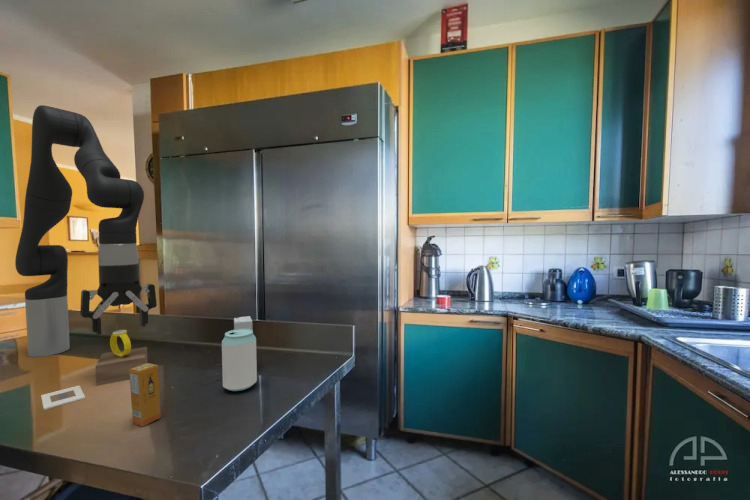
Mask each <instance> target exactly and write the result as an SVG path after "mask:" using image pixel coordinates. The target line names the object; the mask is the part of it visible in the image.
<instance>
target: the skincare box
mask: <svg viewBox="0 0 750 500" xmlns="http://www.w3.org/2000/svg"><path fill="white" fill-rule="evenodd" d="M236 329H250V330H252V331H253V332H254V329H253V320H252V318H251V316H250V315H249V316H239V317H234V318H233V330H236Z"/></svg>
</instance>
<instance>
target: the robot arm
mask: <svg viewBox="0 0 750 500" xmlns="http://www.w3.org/2000/svg"><path fill="white" fill-rule="evenodd" d="M33 112H34V113H33V115H32V125H31V152H30V153H31V155H30V156H31V157H30V165H29V166H30V167H29V172H28V173H29V174H28V179H27V184H26V189H25V197H24V208H23V209H24V210H23V220H22V227H21V232H20V237H19V241H18V246H17V248H16V254H15V259H14V260H15V263H14V265H15V270H16V272H17V273H18V274H19V275H20V276H22V277H38V276H39V277H40V276H49V275H50V276H49V278H48V279H47V280H45V281H44V282H42V283H39V284H38V285H35V286H33V287H29V288H28V289H26V290H25V292H24V303H25V323H26V324H25V326H26V341H27V342H26V343H27V345H26V346H27V356H28V357H30V358H40V357H42V358H43V357H47V356H48V357H49V356H53V355H57V354H60V353H64V352H66V351H69V350H70V348H71V347H70V346H71V345H70V328H69V327H70V326H69V325H70V324H69V304H68V301H69V300H68V269H69V266H68V264H69V261H68V259H69V258H68V257H69V256H68V251H67V250H66V247H64V246H63V245H60V244H40V242H41V241H42V238H43V237H44V236H45V235H46V234H47V233H48V232H49V231H50V230H52V229H53V228H54V227H55V226H57V225H58V224H59V223H61V221H62V220H63V219H65V217H67V215H68V214H69V212H70V210H71V204H72V199H73V188H72V186H71V185H70V183H69V181H68V180H67V178H66V177H65V175H64V174H63V173H62V171H61V170H60V169H59V168H60V167H58V165H57V163H56V162H55V160H54V157H53V152H52V151H53V150H52V148H53V145H59V146H66V147H72V148H78V149H77V151H76V152H75V154H74V155H73V156H74V157H73V158H74V159H73V160H74V166H75V167H76V169H77V170H78V172H79V173H80V175H81V176H82V177H83V179H84V180H85V186H86V196H87V199H88V200H89V202H90V203H92V204H93V205H95V206H97V207H100V208H109V209H121V212H120V214H119V215H118V216H116V217H109V218H102V219H101V220H100V221H99V222H98V245H99V246H98V251H97V259H98V260H97V261H98V262H97V263H98V284H99V286H98V288H97V289H93V290H90V289H82V290H81V292H80V309H79V310H80V313H79V314H80V316H81V317H82V318H83V319H84V318H85V319H86V318H89V319H91V330H92V332H93V333H94V334H96V336H97V335H98V336H99V335H102V319H101V315H102V314H103V313H104V312H105V311H106V310H107V309H108V308H109V307H111V306H112V307H118V306H121V305H124V306H126V305H130V304H132V303H133V304H134V305H135V307H137V308H139V309H140V310H139V314H138V315H139V326H140V327H143V328H144V327H146V325H147V324H148V323H149V311H150V310H152V309H153V308H154V309H155V308H156V307H157V306H158V305H157V297H156V296H157V295H156V293H157V292H156V286H155V285H154V284H152V283H147V284H144V285H141V284H140V271H139V270H140V269H139V268H140V267H139V265H140V264H139V262H140V258H139V251H138V245H137V240H138V239H137V226H138V225H137V224H138V220H139V217H140V213H141V209H142V207H143V204H144V199H145V193H144V192H145V191H144V188H143V187H142V186H141V184H140V183H139V182H138V181H136V180H131V179H125V178H121V173H120V170H119V168H117V166H116V165H115V164H114V163H113V161H112V160H111V158H109V156H108V155H107V154H106V153H105V150H104V148H103V146H102V144H101V142H100V139H99V137H98V134H97V132H96V130H95V129H94V126H93V124H92V123H91V121H90V120H89V119H88V118H87V117H86V116H85V115H83V114H81V113H77V112H75V111H70V110H66V109H61V108H58V107H53V106H49V105H43V104H42V105H38V106H36V108H35V109H34V111H33ZM39 244H40V245H39ZM142 290H143V292H144V293H145V294H147V303H146V304H145V303H144V302H143V301H142V300H141V299H140V298H138V296H139V295H140V293H141V292H142ZM96 295H97V296H99V298H100V299H101V300H100V302H99V303H98V304H97V306H96V307H95V308H94V310H93V311H90V304H91V303H90V302H91V301H90V300H93V299H94V297H95V296H96Z"/></svg>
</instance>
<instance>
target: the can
mask: <svg viewBox="0 0 750 500" xmlns="http://www.w3.org/2000/svg"><path fill="white" fill-rule="evenodd" d="M221 365H222V366H221V369H222V387H223V388H224V389H226V390H228V391H232V392H238V391H245V390H246V389H249V388H251V387H252V386H253V385H254V384H256V383H257V380H258V371H257V370H258V366H257V337H256V335H255V334H254V330H253V331H252V330H250V329H236V330H234V329H231V330H229V331H226V332H225V333H224V337H223V339H222V340H221Z"/></svg>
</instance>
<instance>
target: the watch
mask: <svg viewBox="0 0 750 500" xmlns="http://www.w3.org/2000/svg"><path fill="white" fill-rule="evenodd" d="M118 337H120V339H121V341H122V343H123V350H124V353H123V352H121V351H122V350H121V349H120V348H119V346H118ZM109 345H110V349H111V352H113V353H114V355H117V356H120V357H124V356H127V355H128V354H129V353H130V351H131V349H132V344H131V339H130V337H129V335H128V331H127V329H119V330H118V329H117V330H115V331H113V332H112V333H111V336H110V338H109Z"/></svg>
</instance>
